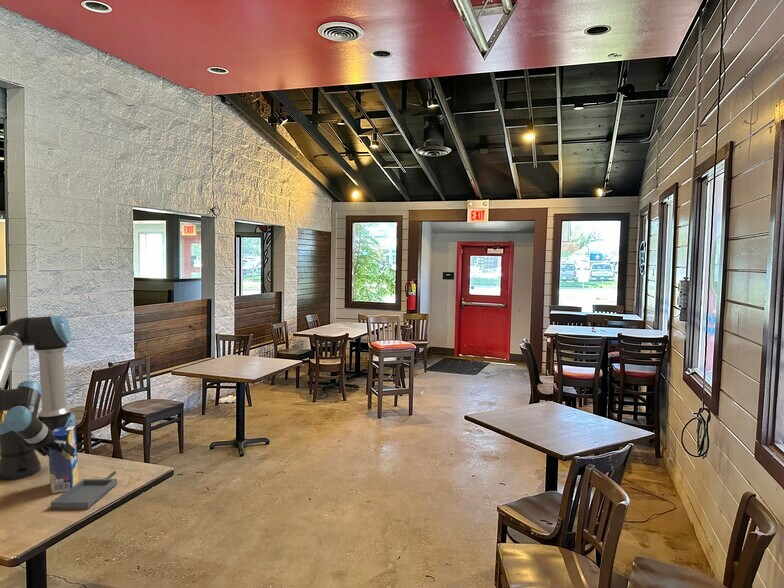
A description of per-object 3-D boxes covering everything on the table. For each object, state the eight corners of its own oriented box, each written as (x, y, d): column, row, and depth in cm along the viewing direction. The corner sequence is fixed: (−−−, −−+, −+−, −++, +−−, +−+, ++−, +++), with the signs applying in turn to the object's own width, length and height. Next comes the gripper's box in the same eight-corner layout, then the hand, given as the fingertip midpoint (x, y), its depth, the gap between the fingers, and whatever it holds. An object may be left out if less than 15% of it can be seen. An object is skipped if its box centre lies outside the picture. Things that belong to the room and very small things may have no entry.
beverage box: (78, 478, 211) (75, 425, 209) (71, 490, 200) (68, 434, 199) (59, 481, 209) (55, 427, 207) (51, 493, 198) (47, 436, 197)
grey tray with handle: (98, 473, 216) (98, 467, 216) (131, 473, 216) (130, 467, 216) (51, 509, 186) (50, 502, 186) (88, 509, 186) (88, 502, 185)
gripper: (9, 444, 187) (42, 469, 205) (57, 444, 187) (86, 469, 205) (18, 425, 192) (50, 451, 210) (65, 425, 192) (93, 451, 210)
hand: (68, 460), depth 207 cm, fingers closed on beverage box, 4 cm apart
